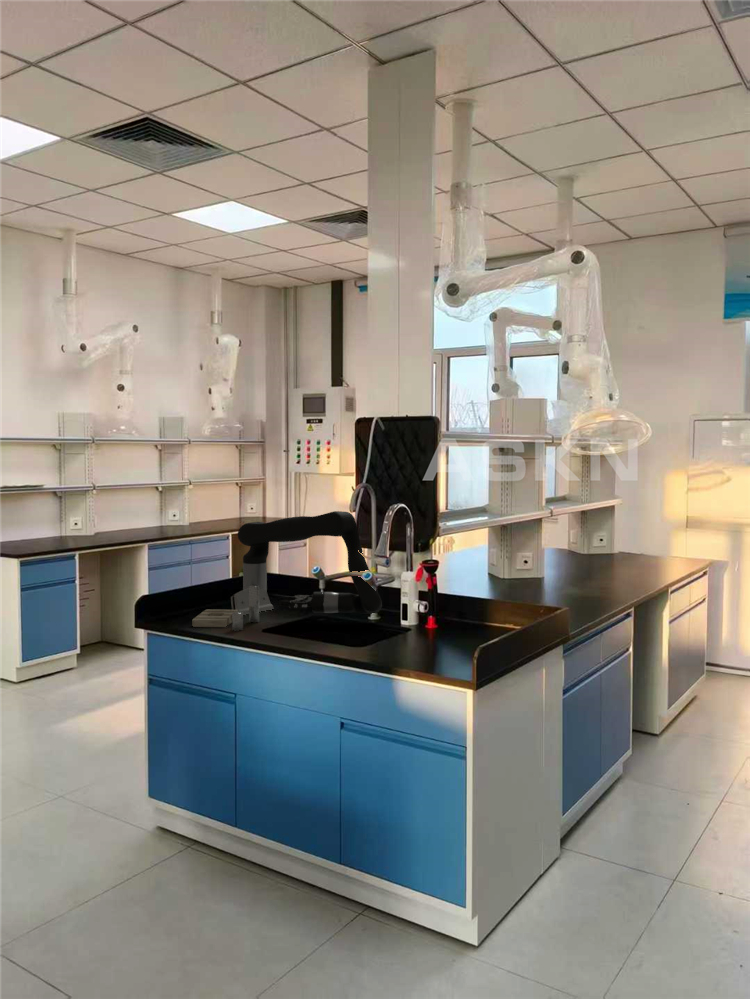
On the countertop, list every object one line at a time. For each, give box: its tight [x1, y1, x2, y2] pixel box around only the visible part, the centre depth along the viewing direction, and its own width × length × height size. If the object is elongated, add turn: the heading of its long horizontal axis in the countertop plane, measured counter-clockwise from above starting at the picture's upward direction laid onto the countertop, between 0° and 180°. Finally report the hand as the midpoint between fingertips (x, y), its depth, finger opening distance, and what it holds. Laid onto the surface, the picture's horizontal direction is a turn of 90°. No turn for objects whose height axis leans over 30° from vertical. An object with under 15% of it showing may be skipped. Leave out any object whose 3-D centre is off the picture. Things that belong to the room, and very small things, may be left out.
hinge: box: [230, 589, 275, 616], centre depth 301 cm, size 17×5×10 cm, turn 138°
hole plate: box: [191, 608, 238, 628], centre depth 284 cm, size 18×12×2 cm, turn 177°
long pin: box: [248, 585, 260, 623], centre depth 283 cm, size 4×4×13 cm
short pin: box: [231, 612, 244, 632], centre depth 270 cm, size 4×4×6 cm
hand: (281, 601), depth 282 cm, fingers open, 8 cm apart
